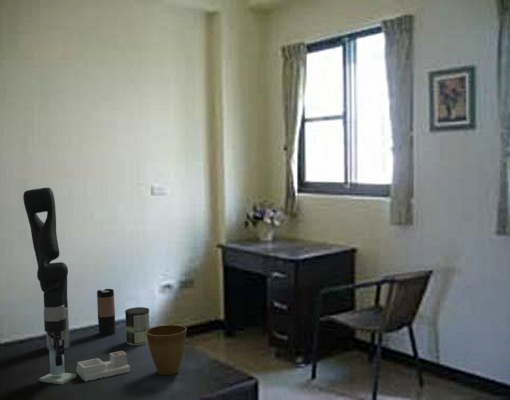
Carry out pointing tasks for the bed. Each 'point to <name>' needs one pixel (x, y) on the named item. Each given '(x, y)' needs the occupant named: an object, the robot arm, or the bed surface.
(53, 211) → the robot arm
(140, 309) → the coffee can
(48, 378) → the mat
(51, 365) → the blue-grey elongated rounded piece
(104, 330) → the travel mug
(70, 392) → the bed surface
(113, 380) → the bed surface
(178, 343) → the plant pot
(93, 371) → the housing
